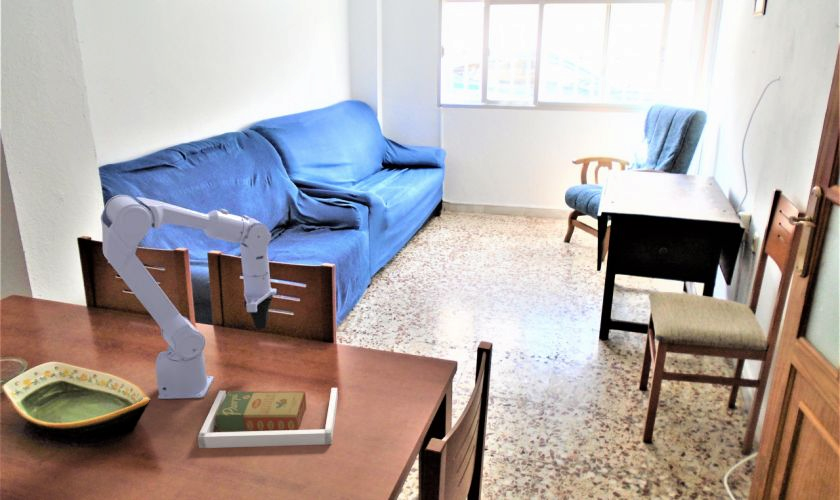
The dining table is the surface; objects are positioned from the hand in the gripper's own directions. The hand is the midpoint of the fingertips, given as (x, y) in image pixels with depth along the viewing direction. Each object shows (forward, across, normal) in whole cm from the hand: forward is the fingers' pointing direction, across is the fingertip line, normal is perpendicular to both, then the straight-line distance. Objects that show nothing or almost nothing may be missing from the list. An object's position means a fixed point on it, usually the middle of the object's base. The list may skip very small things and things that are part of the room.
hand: (261, 327), depth 134 cm
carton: (+10, -21, -4) cm, 24 cm away
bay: (+9, -22, -6) cm, 25 cm away
